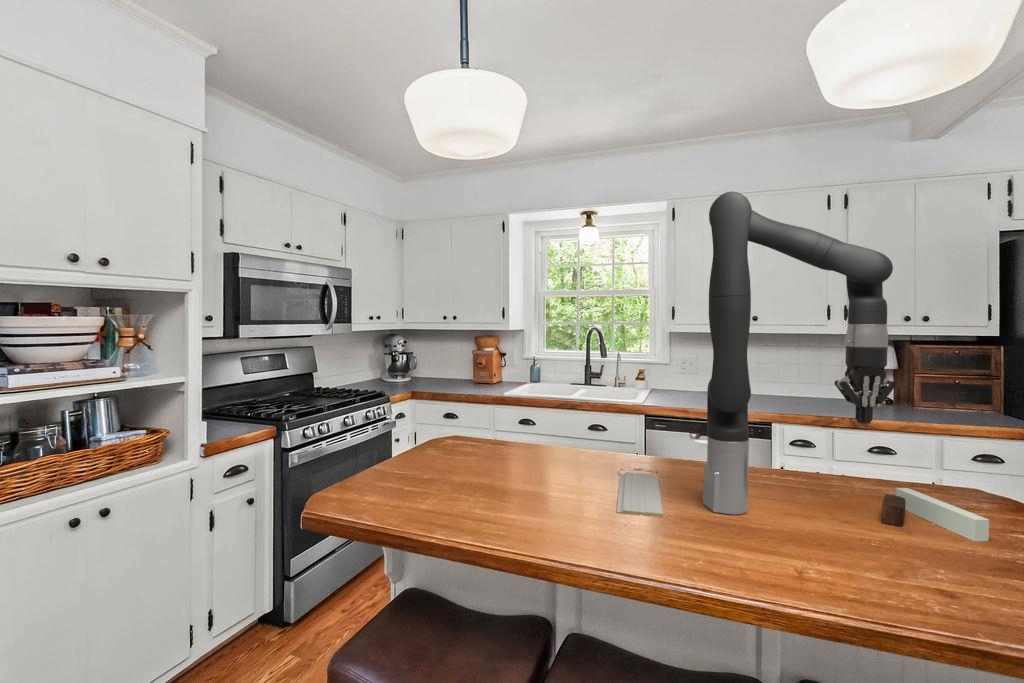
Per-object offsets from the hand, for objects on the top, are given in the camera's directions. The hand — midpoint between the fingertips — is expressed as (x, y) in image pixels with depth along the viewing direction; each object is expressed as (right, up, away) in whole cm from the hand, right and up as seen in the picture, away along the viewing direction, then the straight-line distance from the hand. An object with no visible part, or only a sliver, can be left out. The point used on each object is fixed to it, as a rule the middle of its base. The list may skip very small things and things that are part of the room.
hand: (863, 423), depth 111 cm
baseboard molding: (-45, -23, +22) cm, 55 cm away
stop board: (+18, -23, +2) cm, 29 cm away
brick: (+10, -23, +5) cm, 26 cm away
